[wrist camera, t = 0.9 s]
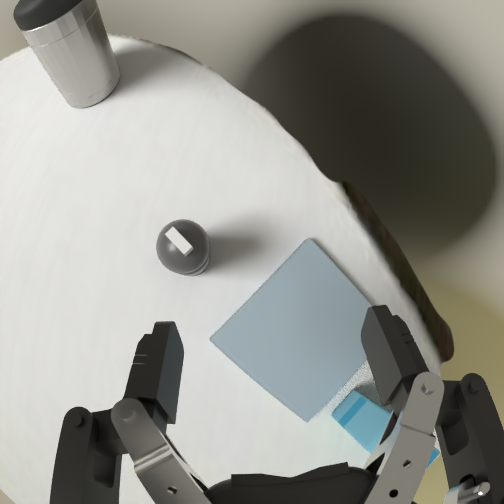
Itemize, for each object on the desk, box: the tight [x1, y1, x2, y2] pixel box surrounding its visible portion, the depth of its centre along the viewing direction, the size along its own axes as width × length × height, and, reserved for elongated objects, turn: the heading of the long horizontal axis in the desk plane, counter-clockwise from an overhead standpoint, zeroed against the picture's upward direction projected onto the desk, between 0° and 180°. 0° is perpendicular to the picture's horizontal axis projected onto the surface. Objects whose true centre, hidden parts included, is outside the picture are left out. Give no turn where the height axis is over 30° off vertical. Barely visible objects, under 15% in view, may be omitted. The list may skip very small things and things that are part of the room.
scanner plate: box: [210, 238, 373, 422], centre depth 32 cm, size 16×16×2 cm
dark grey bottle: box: [156, 220, 210, 276], centre depth 26 cm, size 4×4×12 cm
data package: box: [332, 390, 439, 468], centre depth 27 cm, size 12×4×12 cm, turn 48°
